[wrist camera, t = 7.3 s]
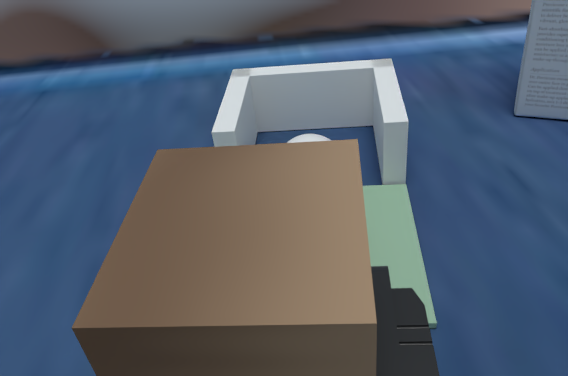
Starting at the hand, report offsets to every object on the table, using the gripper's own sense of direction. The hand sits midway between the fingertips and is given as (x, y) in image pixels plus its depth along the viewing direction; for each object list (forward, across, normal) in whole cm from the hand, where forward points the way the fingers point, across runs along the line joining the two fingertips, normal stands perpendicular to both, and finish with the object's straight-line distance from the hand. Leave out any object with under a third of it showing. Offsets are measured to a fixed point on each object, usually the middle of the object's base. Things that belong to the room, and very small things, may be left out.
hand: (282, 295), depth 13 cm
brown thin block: (+3, 0, +7) cm, 8 cm away
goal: (+18, 0, +8) cm, 20 cm away
